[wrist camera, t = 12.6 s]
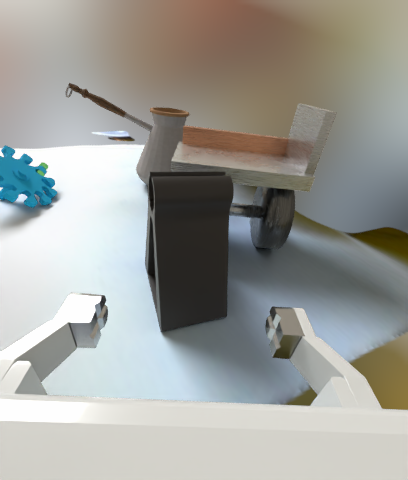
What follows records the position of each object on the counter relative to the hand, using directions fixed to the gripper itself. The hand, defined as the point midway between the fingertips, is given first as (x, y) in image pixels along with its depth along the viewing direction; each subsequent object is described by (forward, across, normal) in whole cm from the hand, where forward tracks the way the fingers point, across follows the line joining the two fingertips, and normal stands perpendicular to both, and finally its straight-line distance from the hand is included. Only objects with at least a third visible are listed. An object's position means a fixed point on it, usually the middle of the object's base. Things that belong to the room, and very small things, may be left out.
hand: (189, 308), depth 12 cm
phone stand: (+10, +1, +9) cm, 13 cm away
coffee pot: (+36, +10, +8) cm, 39 cm away
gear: (+25, +25, +8) cm, 36 cm away
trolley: (+21, -5, +8) cm, 23 cm away
